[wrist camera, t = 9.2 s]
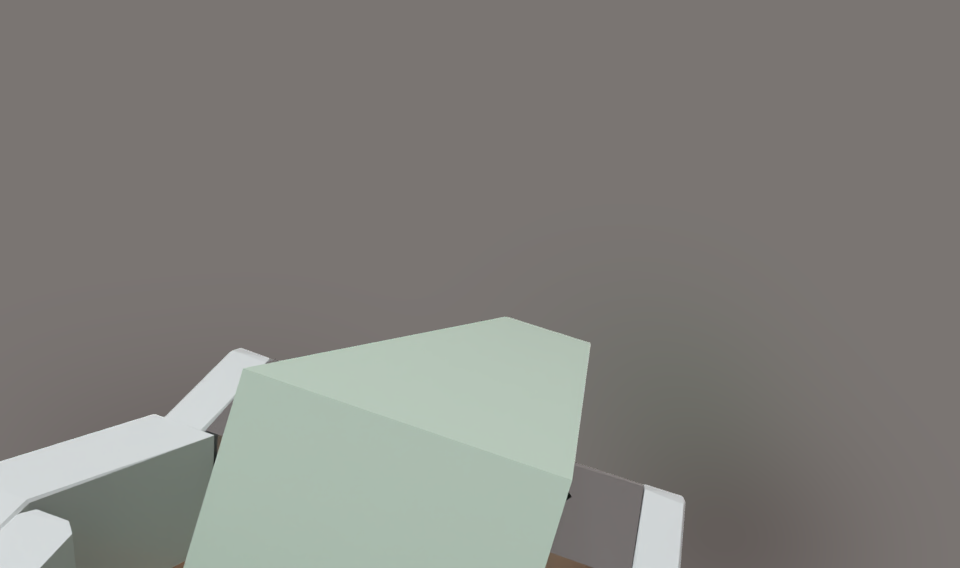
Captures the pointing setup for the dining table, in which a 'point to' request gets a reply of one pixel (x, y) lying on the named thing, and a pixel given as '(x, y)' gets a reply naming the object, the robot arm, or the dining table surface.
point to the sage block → (399, 454)
